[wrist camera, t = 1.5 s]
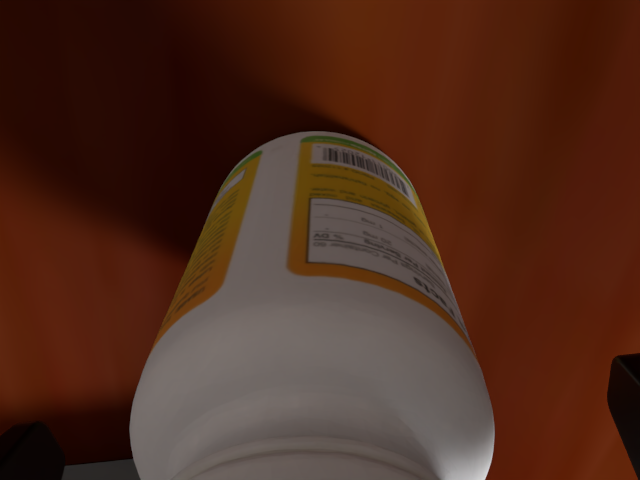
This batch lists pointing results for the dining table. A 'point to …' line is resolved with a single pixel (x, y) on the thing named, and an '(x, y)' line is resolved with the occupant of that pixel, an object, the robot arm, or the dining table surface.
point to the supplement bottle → (313, 333)
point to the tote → (102, 471)
